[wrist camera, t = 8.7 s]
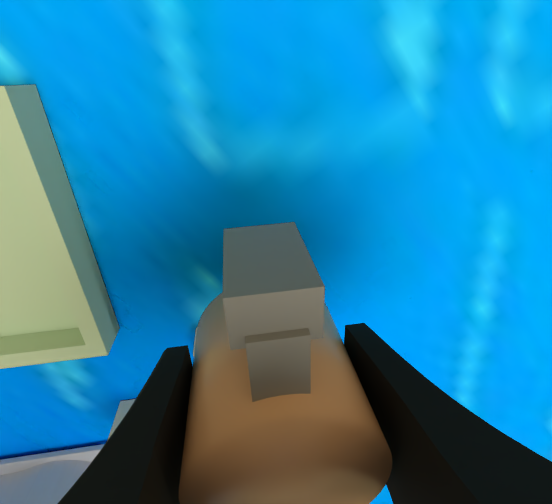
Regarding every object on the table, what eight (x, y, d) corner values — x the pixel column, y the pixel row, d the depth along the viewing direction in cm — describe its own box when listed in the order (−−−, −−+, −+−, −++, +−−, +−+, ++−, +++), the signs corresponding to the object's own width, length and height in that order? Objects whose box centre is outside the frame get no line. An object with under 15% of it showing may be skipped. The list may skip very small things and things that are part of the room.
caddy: (207, 391, 13) (197, 555, 8) (170, 215, 9) (121, 337, 5) (329, 373, 13) (381, 521, 9) (336, 200, 10) (425, 299, 5)
